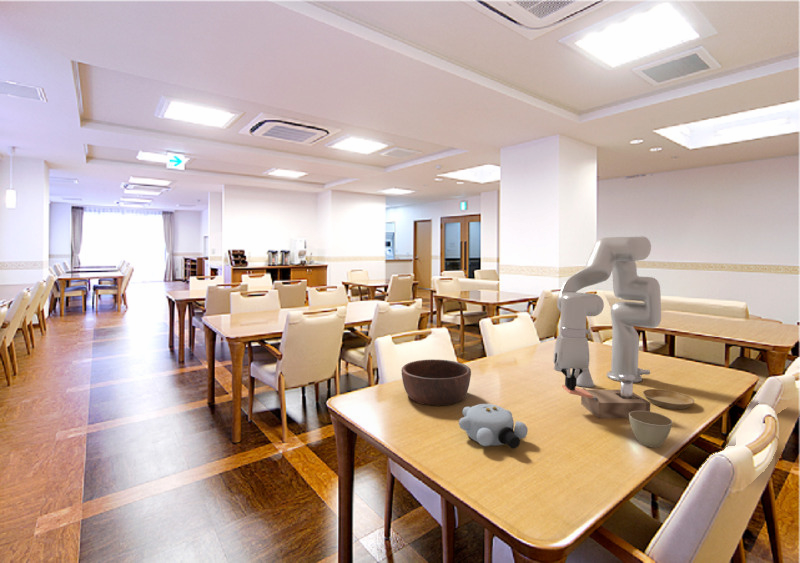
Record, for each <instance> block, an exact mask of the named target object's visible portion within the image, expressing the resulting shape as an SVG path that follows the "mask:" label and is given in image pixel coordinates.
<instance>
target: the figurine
mask: <svg viewBox="0 0 800 563" xmlns="http://www.w3.org/2000/svg"><path fill="white" fill-rule="evenodd" d="M462 415H463V417H461V418H460V419H459V420H458V421H459V422H458V426H459V428H460V429H461V430H464V431H465V433H466V435H467V436H468V437H469V438H470V439H472V440H473V441H474V442H477V443H479V445H481V446H483V447H489V446H496V447H497V446H502V445H507V446H508V447H509V448H510V449H512V450H515V449H517V448H518V447H519V446H520V444H521V439H524V438H526V436H527V435H528V433H529V431H528V429H529V428H528V427H527V425H526V424H525V423H524V422H522V421H518V420H516V421H514V417H513V413H512V412H511V410H509V409H505V408H503V407H501V406H499V405H497V404H493V403H492V404H491V403H479V404H476V405H473V406H465V407H463V409H462Z"/></svg>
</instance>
